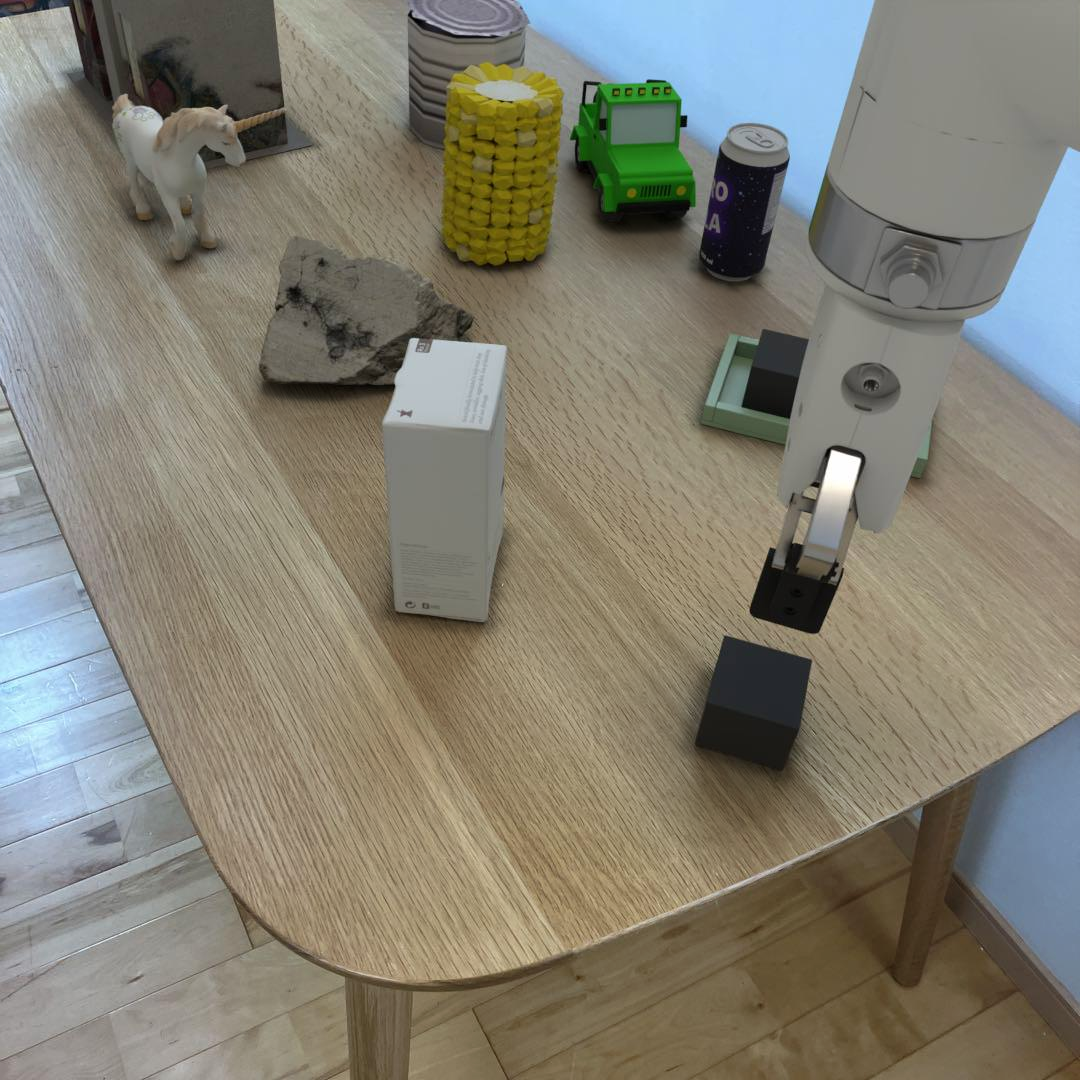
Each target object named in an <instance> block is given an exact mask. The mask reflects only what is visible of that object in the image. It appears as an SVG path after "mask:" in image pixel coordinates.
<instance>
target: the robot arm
mask: <svg viewBox="0 0 1080 1080" xmlns="http://www.w3.org/2000/svg"><path fill="white" fill-rule="evenodd" d="M1069 148H1070V149H1072V150H1074V151H1077V152H1078V153H1080V0H874V1H873V5H872V8H871V12H870V15H869V18H868V22H867V25H866V28H865V32H864V35H863V39H862V43H861V46H860V50H859V54H858V57H857V60H856V63H855V68H854V72H853V75H852V78H851V82H850V85H849V89H848V92H847V96H846V99H845V102H844V105H843V109H842V113H841V117H840V120H839V123H838V126H837V130H836V133H835V137H834V140H833V143H832V147H831V150H830V154H829V157H828V161H827V163H826V168H825V171H824V175H823V178H822V181H821V185H820V188H819V192H818V195H817V199H816V202H815V206H814V209H813V213H812V216H811V220H810V223H809V227H808V230H807V232H806V233H807V234H806V237H805V241H804V246H803V247H804V256H805V258H806V260H807V263H808V265H809V267H810V268H811V269H812V271H813V272H814V274H815V275H816V276H817V277H818V278H819V279H820V280H821V281H822V282H823V283H824V288H823V291H822V294H821V297H820V301H819V304H818V307H817V310H816V313H815V318H814V321H813V324H812V326H811V327H812V328H811V330H810V331H811V332H810V334H809V338H808V339H809V342H808V345H807V349H806V353H805V356H804V360H803V364H802V368H801V372H800V377H799V381H798V385H797V390H796V394H795V399H794V403H793V408H792V412H791V418H790V423H789V429H788V434H787V439H786V445H784V451H783V456H782V461H781V467H780V475H779V479H778V486H777V492H776V496H777V498H778V499H779V501H780V503H781V504H782V506H783V507H784V508H785V509H787V511H786V513H785V514H786V515H785V517H784V521H783V524H782V527H781V531H780V534H779V537H778V541H777V545H776V547H775V548H774V547H769V549H768V551H767V554H766V558H765V561H764V563H763V567H762V570H761V572H760V576H759V578H758V581H757V584H756V588H755V590H754V593H753V596H752V599H751V602H750V606H749V609H748V610H749V615H750V616H752V618H755V619H758V620H761V621H765V622H769V623H772V624H775V625H778V626H782V627H785V628H789V629H791V630H795V631H800V632H803V633H805V634H808V635H809V634H810V635H817V634H818V633H820V631H821V629H822V627H823V624H824V622H825V620H826V618H827V615H828V612H829V611H830V609H831V605H832V603H833V600H834V598H835V596H836V593H837V591H838V589H839V586H840V584H841V582H842V579H843V576H844V572H845V568H844V564H845V560H846V558H847V553H848V551H849V547H850V544H851V541H852V537H853V534H854V531H855V527H856V525H857V522H858V523H859V527H860V529H862V530H865V531H870V532H873V533H874V534H881V533H883V532H885V531H886V530H888V529H890V528H891V526H892V524H893V522H894V519H895V517H896V514H897V512H898V509H899V506H900V503H901V501H902V499H903V496H904V493H905V491H906V488H907V485H908V484H909V483H908V482H909V480H910V478H911V476H910V475H911V472H912V470H913V467H914V465H915V462H916V460H917V457H918V454H919V452H920V449H921V447H922V444H923V442H924V439H925V436H926V434H927V431H928V429H929V426H930V424H931V421H932V422H933V418H934V416H935V413H936V410H937V407H938V405H939V403H940V400H941V396H942V393H943V391H944V388H945V385H946V383H947V380H948V377H949V375H950V370H951V368H952V365H953V362H954V358H955V355H956V353H957V349H958V345H959V343H960V340H961V336H962V333H963V330H964V326H965V322H966V320H968V319H973V318H977V317H979V316H982V315H984V314H985V313H987V312H989V311H990V310H992V309H993V308H994V307H995V306H996V305H997V304H999V302H1000V300H1001V298H1002V296H1003V294H1004V292H1005V290H1006V288H1007V285H1008V283H1009V281H1010V279H1011V277H1012V274H1013V272H1014V270H1015V268H1016V265H1017V263H1018V261H1019V259H1020V256H1021V255H1022V252H1023V250H1024V247H1025V245H1026V243H1027V241H1028V239H1029V236H1030V234H1031V233H1032V230H1033V229H1034V225H1035V224H1036V221H1037V218H1038V215H1039V213H1040V211H1041V209H1042V207H1043V205H1044V202H1045V200H1046V198H1047V195H1048V193H1049V191H1050V189H1051V188H1052V187H1051V186H1052V185H1053V182H1054V180H1055V178H1056V175H1057V173H1058V171H1059V170H1060V169H1059V168H1060V167H1061V165H1062V162H1063V160H1064V157H1065V155H1066V153H1067V152H1068V149H1069ZM809 487H812V488H815V489H818V490H817V493H816V497H815V498H812V497H808V496H804V492H805V490H808V488H809ZM802 512H803V513H806V514H810V515H811V516H810V520H809V523H808V527H807V530H806V533H805V535H804V538H803V540H802V544H801V543H798V542H794V539H795V535H796V532H797V528H798V525H799V522H800V518H801V515H802Z"/></svg>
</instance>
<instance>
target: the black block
mask: <svg viewBox="0 0 1080 1080" xmlns="http://www.w3.org/2000/svg"><path fill="white" fill-rule="evenodd" d="M760 333H761V334H760V337H759V339H758V340H759V343H758V346H757V350H756V353H755V356H754V359H753V362H752V366H751V370H750V374H749V378H748V382H747V386H746V390H745V394H744V398H743V402H742V406H741V407H742V408H746V409H750V410H755V411H759V412H763V413H767V414H771V415H775V416H779V417H783V418H787V419H790V418H791V412H792V408H793V403H794V399H795V394H796V390H797V385H798V381H799V377H800V372H801V368H802V364H803V360H804V356H805V353H806V349H807V345H808V342H809V338H805V337H802V336H801V337H800V336H797V335H792V334H788V333H783V332H780V331H775V330H770V329H766V328H762V330H761V332H760Z"/></svg>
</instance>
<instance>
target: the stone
mask: <svg viewBox="0 0 1080 1080" xmlns="http://www.w3.org/2000/svg"><path fill="white" fill-rule="evenodd" d="M277 268H278V271H279V275H280V278H279V282H278V289H277V296H276V300H275V301H274V302H275V303H274V309H275V312H274V313H273V315H272V316H271V318H270V319H269V321H268V323H267V329H266V333H265V337H264V341H263V345H262V348H261V351H260V360H259V363H258V368H259V369H258V371H259V373H260V375H261V376H262V379H263V381H266V382H267V383H269V384H283V385H285V384H303V385H305V384H306V385H307V384H325V385H336V386H351V385H352V386H353V385H359V386H362V385H363V386H364V385H373V386H389V385H395V376H396V374H397V372H398V371H399V370H400V369H401V368H402V365H403V361H404V358H405V355H406V351H407V347H408V344H409V340H410V339H412V338H418V339H432V340H446V341H459V342H460V338H462V337H463V336H464V334H465V333H466V332H467V331H469V330H470V329H471V328H472V326H473V323H474V320H475V314H474V313H472V312H469V311H466V310H464V308H462V307H461V306H458V305H457V304H454V303H453V302H449V301H448V300H445V299H443V298H441V297H439V295H438V294H437V292H436V289H434V282H433V281H432V280H431V278H429V277H424V278H422V277H421V276H420V275H419V272H418V271H416V270H415V269H413V268H411V267H407V266H405V265H402V264H400V263H398V262H395V261H392V260H389V259H387V258H378V257H375V256H369V255H367V256H366V257H365V258H364V259H363V258H361V257H352V258H351V257H350V258H347V255H346V254H344V252H343V251H342V250H341V249H339V248H337V247H336V246H334V245H332V244H329V243H327V242H325V241H323V240H317V239H313V238H309V237H307V236H301V235H293V236H292V237H291V238H289V240H288V242H287V244H286V248H285V251H284V255H283V258H282V259H281V260H280V262H279V265H278V267H277Z"/></svg>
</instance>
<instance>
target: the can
mask: <svg viewBox="0 0 1080 1080" xmlns="http://www.w3.org/2000/svg"><path fill="white" fill-rule="evenodd" d="M406 3H407V5H408V8H409V12H408V14H407V61H408V108H409V109H408V110H409V112H408V113H409V115H408V116H409V130H410V131H411V132H412V133H413V134H414V135H415V136H416V137H417V138H418V139H419V141H421V143H422V144H423V145H426V146H429V147H432V148H437V149H438V150H443V151H445V146H444V143H443V141H444V139H445V138H446V132H445V129H444V128H445V125H446V123H447V121H446V113H445V109H446V105H447V101H448V99H447V90H446V87H447V86H448V85H449V84H450V82H451V79H452V77H453V75H454V74H462V73H463V72H464V71H465V70H466V69H467V68H468V67H469V66H470V65H473V66H476V67H478V66H479V64H482V63H485V62H489V63H491V64H492V65H494V66H495V67H497V66H499V65H502V64H505V65H507V66H509V67H510V68H512V69H513V70H514V69H516V68H519V67H522V66H525V55H526V39H527V38H526V37H527V26H528V25H530V24H531V21H530V19H529V17H528V15H527V14H526V11H525V10H524V9H523V6H522V5H521V3H520V1H517V0H406Z"/></svg>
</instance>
